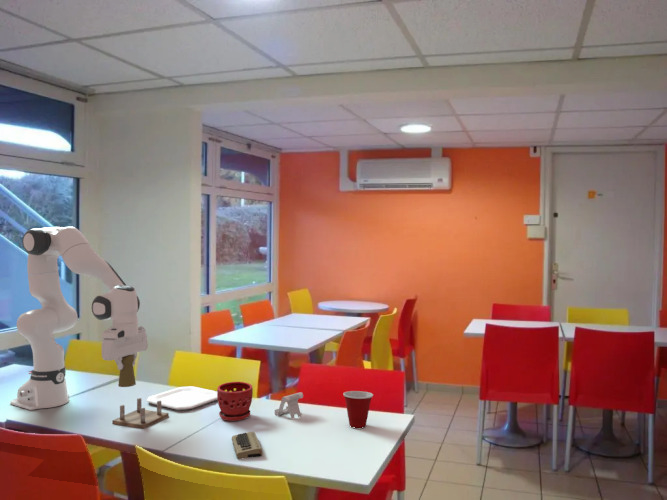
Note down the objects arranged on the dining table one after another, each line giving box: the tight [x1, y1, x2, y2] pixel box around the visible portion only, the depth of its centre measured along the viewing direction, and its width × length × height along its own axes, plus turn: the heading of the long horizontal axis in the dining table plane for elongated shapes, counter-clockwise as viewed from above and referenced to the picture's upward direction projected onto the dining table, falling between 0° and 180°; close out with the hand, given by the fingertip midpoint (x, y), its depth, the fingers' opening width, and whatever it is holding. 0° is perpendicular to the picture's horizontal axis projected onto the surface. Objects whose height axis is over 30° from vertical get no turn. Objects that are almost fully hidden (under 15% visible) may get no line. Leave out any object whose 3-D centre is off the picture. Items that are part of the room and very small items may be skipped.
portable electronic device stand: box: [274, 391, 304, 419], centre depth 214 cm, size 9×8×8 cm
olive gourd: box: [118, 355, 137, 388], centre depth 205 cm, size 6×6×11 cm
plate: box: [146, 385, 218, 411], centre depth 232 cm, size 25×25×2 cm
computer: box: [231, 431, 264, 460], centre depth 181 cm, size 16×8×3 cm, turn 16°
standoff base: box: [112, 397, 170, 429], centre depth 208 cm, size 14×14×6 cm
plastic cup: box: [343, 390, 374, 429], centre depth 202 cm, size 11×11×12 cm
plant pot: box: [216, 381, 254, 422], centre depth 211 cm, size 13×13×12 cm
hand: (126, 367), depth 205 cm, fingers closed on olive gourd, 4 cm apart
